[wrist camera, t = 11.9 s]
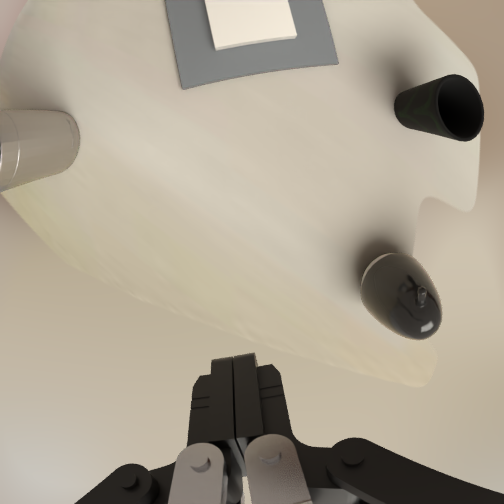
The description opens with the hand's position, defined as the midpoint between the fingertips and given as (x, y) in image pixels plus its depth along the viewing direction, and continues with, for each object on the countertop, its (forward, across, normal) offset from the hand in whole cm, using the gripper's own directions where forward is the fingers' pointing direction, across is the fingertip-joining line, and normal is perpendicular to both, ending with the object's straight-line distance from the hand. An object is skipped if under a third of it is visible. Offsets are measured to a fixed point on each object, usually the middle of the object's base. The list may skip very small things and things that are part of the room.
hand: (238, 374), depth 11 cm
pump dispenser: (+32, -20, +16) cm, 41 cm away
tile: (+31, -7, -19) cm, 37 cm away
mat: (+33, -6, -24) cm, 41 cm away
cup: (+32, -27, -8) cm, 43 cm away
